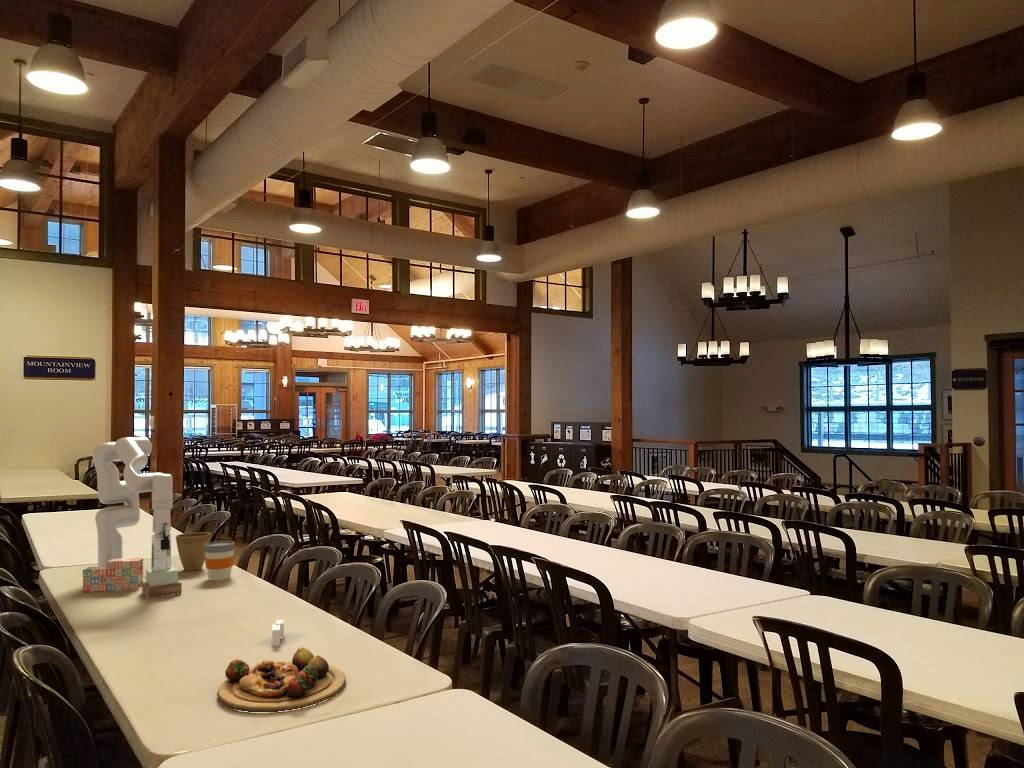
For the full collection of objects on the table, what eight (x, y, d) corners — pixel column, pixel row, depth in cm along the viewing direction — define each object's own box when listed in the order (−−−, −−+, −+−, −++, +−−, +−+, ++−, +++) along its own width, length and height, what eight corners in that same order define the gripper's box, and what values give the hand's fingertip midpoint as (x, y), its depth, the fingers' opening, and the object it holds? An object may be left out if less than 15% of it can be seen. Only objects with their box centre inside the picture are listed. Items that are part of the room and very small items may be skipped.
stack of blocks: (82, 592, 301) (82, 562, 302) (88, 589, 308) (89, 559, 308) (137, 590, 304) (137, 560, 304) (143, 586, 310) (143, 557, 311)
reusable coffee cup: (197, 580, 320) (197, 545, 321) (219, 574, 332) (219, 540, 332) (220, 582, 316) (220, 547, 316) (241, 576, 327) (241, 541, 328)
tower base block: (142, 594, 299) (142, 582, 299) (174, 589, 306) (174, 577, 306) (148, 600, 289) (148, 587, 289) (181, 595, 297) (181, 582, 297)
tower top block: (146, 581, 299) (146, 569, 299) (172, 578, 305) (172, 566, 305) (150, 586, 291) (150, 573, 291) (178, 582, 297) (178, 570, 297)
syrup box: (156, 568, 300) (156, 532, 301) (171, 567, 301) (171, 531, 301) (151, 571, 295) (150, 535, 295) (166, 571, 295) (166, 534, 296)
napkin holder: (279, 650, 227) (279, 631, 227) (249, 646, 231) (249, 628, 231) (309, 636, 241) (309, 618, 241) (280, 632, 245) (280, 615, 245)
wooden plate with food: (188, 705, 185) (188, 672, 185) (273, 662, 215) (273, 633, 215) (294, 726, 173) (294, 690, 173) (368, 677, 203) (368, 647, 203)
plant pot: (213, 569, 341) (213, 534, 341) (178, 574, 332) (178, 538, 333) (206, 564, 353) (206, 530, 353) (172, 568, 345) (172, 534, 345)
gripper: (147, 503, 303) (147, 546, 303) (157, 508, 290) (157, 552, 289) (167, 502, 308) (167, 543, 307) (177, 506, 294) (177, 549, 294)
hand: (162, 547), depth 298 cm, fingers open, 9 cm apart
